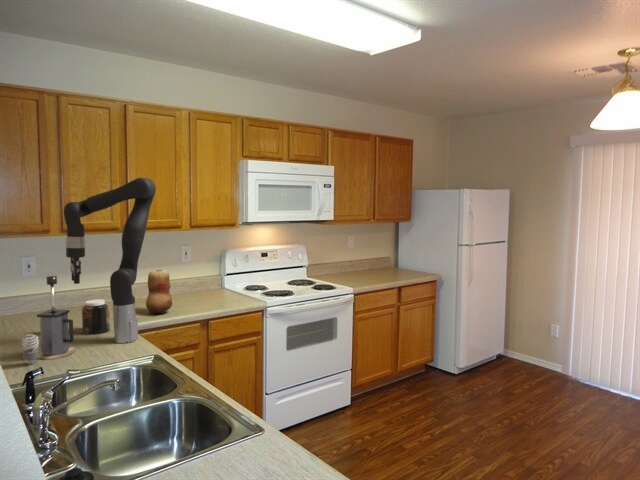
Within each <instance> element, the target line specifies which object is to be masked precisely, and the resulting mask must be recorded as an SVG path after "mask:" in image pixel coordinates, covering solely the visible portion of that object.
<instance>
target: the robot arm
mask: <svg viewBox="0 0 640 480" xmlns="http://www.w3.org/2000/svg"><path fill="white" fill-rule="evenodd" d="M156 190H157V188H156V184H155V182H154V181H153V180H152V179H150V178H147V177H137V178H134V179H133V180H131V181H128V182H127V183H125V184H123V185H120V186H119V187H116V188H114V189H109V190H108V191H107V190H106V191H104V192H100V193H97V194H95V195H92V196H88V197H87V198H86V199H83V200H80V201H69V202H68V203H66V204H65V206H64V208H63V218H64V221H65V225H66V241H65V244H66V245H65V256H66V258H69V259H70V261H69V265H70V272H71V281H72V282H73V284H75V285H78V284H80V279H81V277H80V276H81V275H82V271H81V270H82V266H81V265H82V261H81V260H80V258H84V257H86V237H85V235H86V234H85V232H86V231H85V225H84V224H83V223H82V222H81V218H84V217H86V216H88V215H91V214H93V213H95V212H99V211H103V210H106V209H108V208H111V207H113V206H115V205H118V204H119V203H122V202H124V201H128V200H134V203H133V207H132V209H131V211H130V213H129V215H128V217H127V219H126V221H125V223H124V226H123V231H122V235H121V251H122V252H121V253H122V256H121V260H120V264H119V268H118V269H117V270H115V271H113V272H112V274H111V275H110V277H109V278H110V279H109V286H110V287H109V289H110V297H111V300H112V309H113V311H112V312H113V313H112V316H113V333H114V334H113V335H114V337H113V338H114V343H118V344H126V342H128V343H133V342H135V341H137V339H139V326H138V322H139V321H138V318H136V298H135V296H134V294H133V285H134V284H135V282H136V280H137V275H138V264H139V258H140V254H141V251H142V247H143V244H144V239H145V237H146V236H145V235H146V229H147V224H148V221H149V220H148V219H149V214H150V209H151V205H152V204H153V200H154V198H155V195H156ZM134 340H135V341H134ZM132 341H133V342H132Z"/></svg>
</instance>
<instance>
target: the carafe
mask: <svg viewBox="0 0 640 480" xmlns="http://www.w3.org/2000/svg"><path fill="white" fill-rule="evenodd" d="M69 313H70V310H69V309H56V310H55V313H52V310H51V309H49V310H46V311H43V312H41V313H38V314H36V318H39V331H40V333H39V334H40V336H39V337H40V351H42V355H44V356H56V355H61V354H64V353H66V352H68V351H69V347H70V343H74V342H75V337H74V335H75V334H74V319H69Z"/></svg>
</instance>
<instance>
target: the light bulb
mask: <svg viewBox="0 0 640 480" xmlns="http://www.w3.org/2000/svg"><path fill="white" fill-rule="evenodd" d="M39 344H40V343H39V337H38V335H35V334H31V333H30V334H25V336H24V337H23V338H22V339H21V346H22V349H23V350H24V351H22V359H23V360H25V361H27V364H29V365H32V364H34V363H36V359H37V358H38V357H39V352H40V349H38V347H39ZM37 360H38V359H37Z"/></svg>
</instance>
